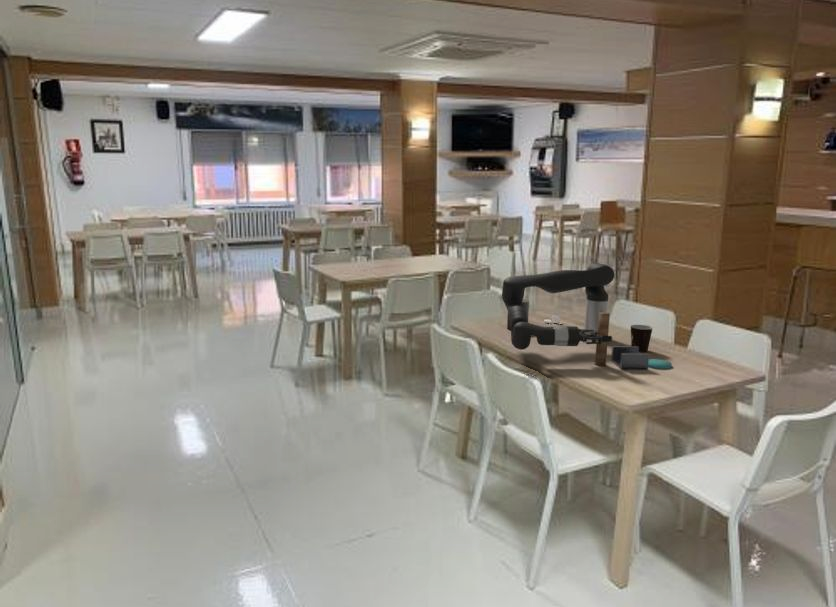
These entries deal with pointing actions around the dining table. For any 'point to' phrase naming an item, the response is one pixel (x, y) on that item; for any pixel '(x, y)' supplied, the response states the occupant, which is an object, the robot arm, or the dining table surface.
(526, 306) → the pillar candle
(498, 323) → the dining table surface
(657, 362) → the teal mat
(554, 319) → the teacup and saucer
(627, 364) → the metal channel
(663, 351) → the dining table surface
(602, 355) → the walnut dowel
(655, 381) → the dining table surface
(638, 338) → the coffee mug
